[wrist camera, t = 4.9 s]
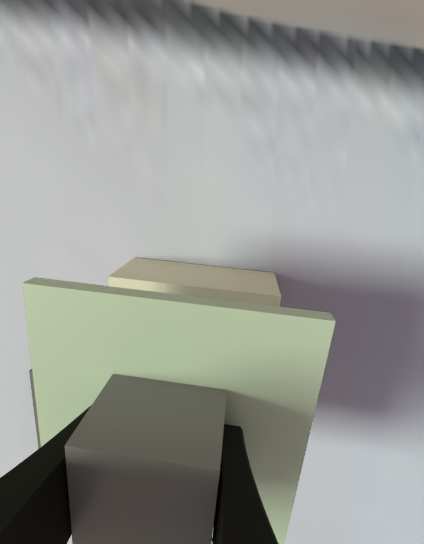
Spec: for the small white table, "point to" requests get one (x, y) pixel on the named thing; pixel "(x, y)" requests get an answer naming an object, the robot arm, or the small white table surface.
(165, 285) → the dish
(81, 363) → the lid
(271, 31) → the small white table surface
